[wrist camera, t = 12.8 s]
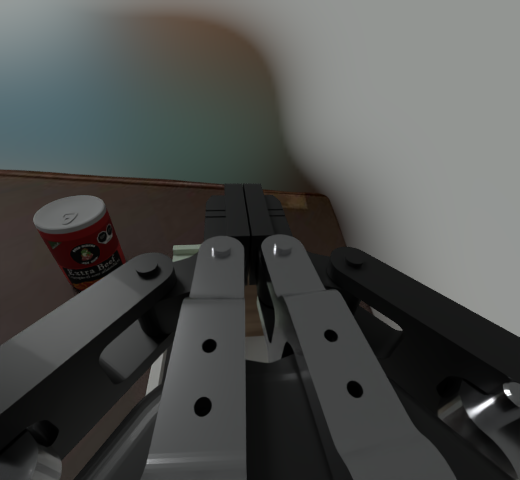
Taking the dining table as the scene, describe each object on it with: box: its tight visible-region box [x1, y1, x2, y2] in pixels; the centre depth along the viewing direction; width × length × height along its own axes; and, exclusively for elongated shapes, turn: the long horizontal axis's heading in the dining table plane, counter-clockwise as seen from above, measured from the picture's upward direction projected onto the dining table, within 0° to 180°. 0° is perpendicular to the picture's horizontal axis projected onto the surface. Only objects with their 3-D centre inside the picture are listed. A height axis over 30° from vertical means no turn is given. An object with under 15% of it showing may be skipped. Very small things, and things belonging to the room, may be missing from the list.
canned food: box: [33, 195, 126, 291], centre depth 36 cm, size 8×8×11 cm
